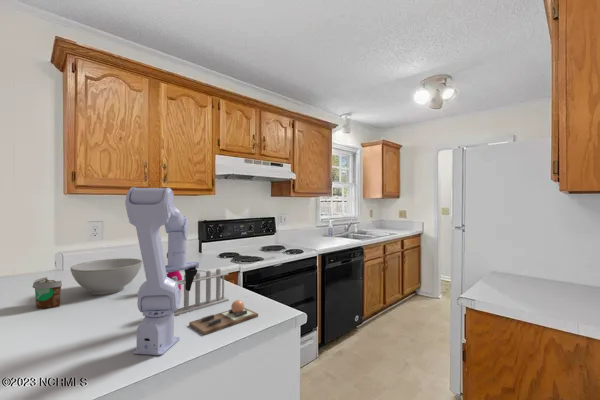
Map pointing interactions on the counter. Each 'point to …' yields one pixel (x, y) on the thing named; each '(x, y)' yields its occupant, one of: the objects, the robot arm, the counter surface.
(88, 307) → the counter surface
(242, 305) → the terracotta ball
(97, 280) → the decorative bowl
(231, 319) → the cradle board
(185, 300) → the test tube rack
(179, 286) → the pepper mill
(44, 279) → the food container
